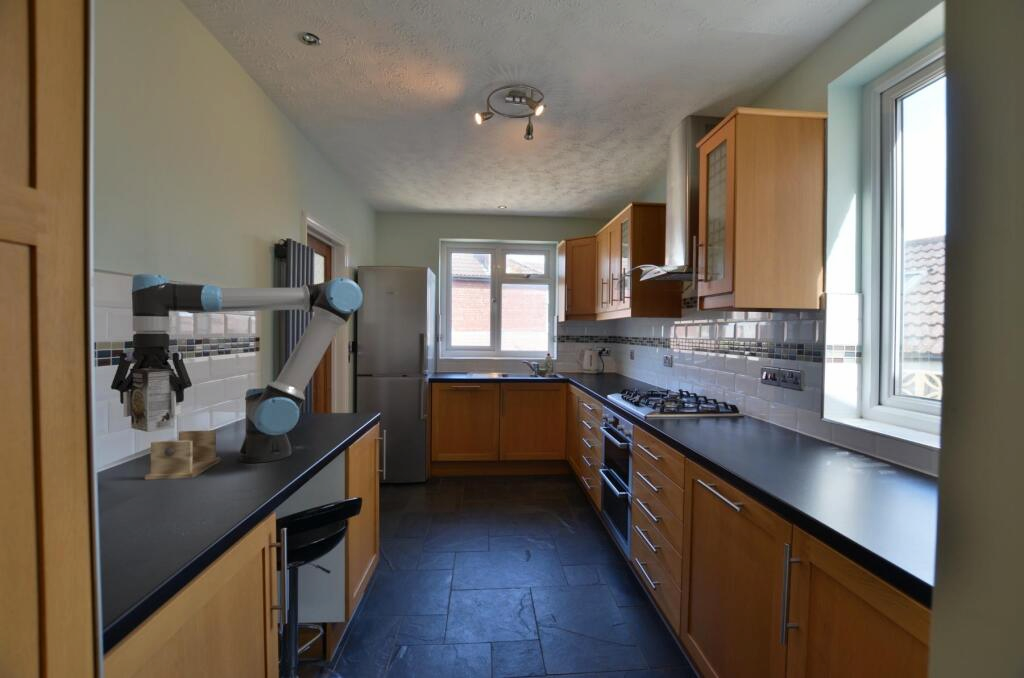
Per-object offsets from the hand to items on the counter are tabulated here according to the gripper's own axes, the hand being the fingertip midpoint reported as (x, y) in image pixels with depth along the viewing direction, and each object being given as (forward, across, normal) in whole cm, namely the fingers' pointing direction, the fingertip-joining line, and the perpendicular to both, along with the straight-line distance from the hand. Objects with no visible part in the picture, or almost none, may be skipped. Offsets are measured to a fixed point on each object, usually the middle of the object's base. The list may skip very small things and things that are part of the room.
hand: (152, 415), depth 116 cm
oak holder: (+19, 0, -14) cm, 24 cm away
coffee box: (+4, 0, 0) cm, 4 cm away
